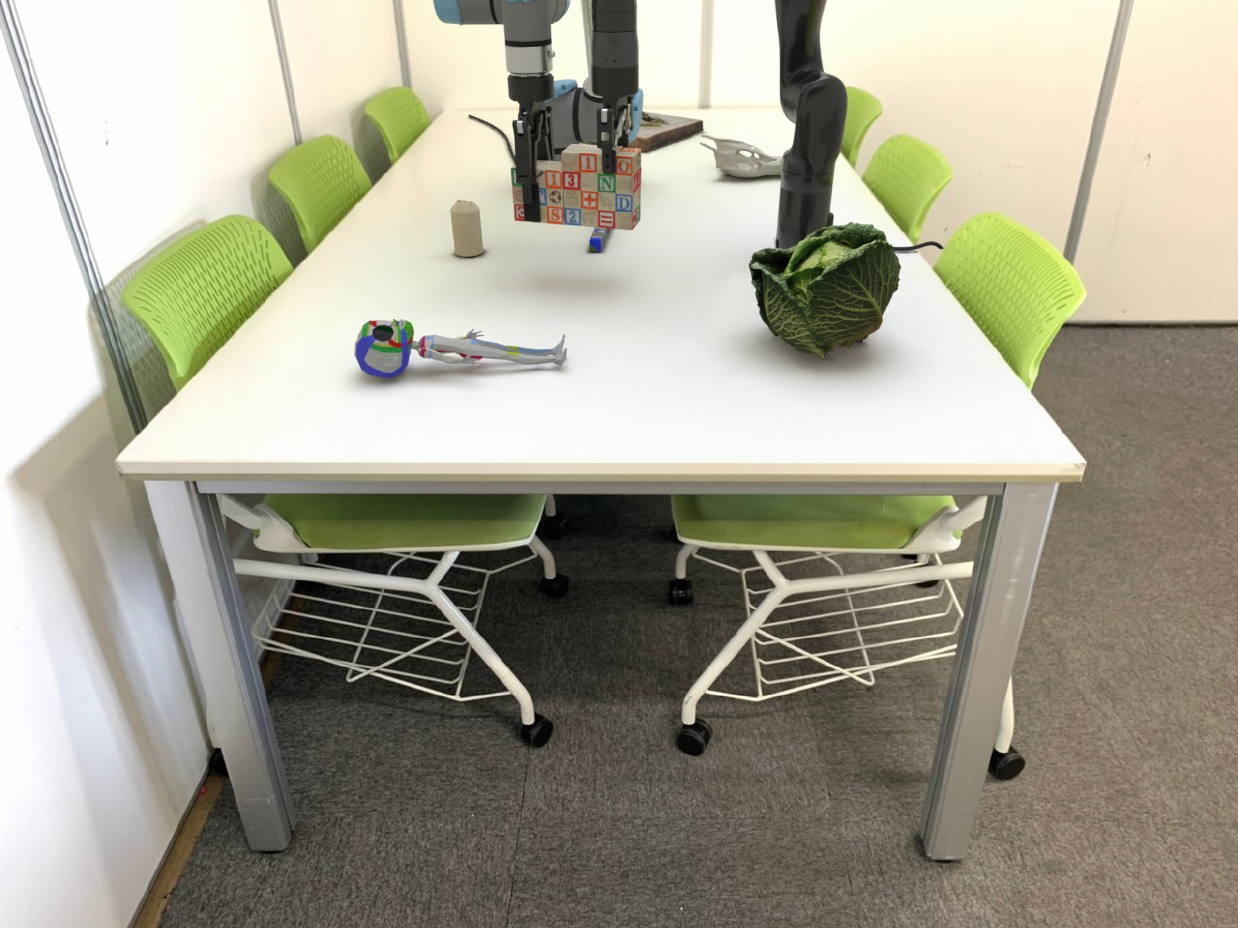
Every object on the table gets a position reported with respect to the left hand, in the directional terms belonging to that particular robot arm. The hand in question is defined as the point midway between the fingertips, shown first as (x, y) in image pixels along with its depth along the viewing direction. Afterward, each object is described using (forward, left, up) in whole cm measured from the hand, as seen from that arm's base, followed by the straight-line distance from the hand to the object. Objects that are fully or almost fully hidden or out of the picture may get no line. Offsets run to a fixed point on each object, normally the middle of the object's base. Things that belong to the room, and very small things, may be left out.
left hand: (539, 215), depth 157 cm
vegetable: (+53, +9, -12) cm, 55 cm away
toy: (+19, -33, -12) cm, 40 cm away
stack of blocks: (+6, +3, -1) cm, 7 cm away
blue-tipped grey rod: (-9, +24, -12) cm, 28 cm away
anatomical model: (-15, +81, -12) cm, 83 cm away
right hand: (+12, +7, +9) cm, 17 cm away
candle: (-21, -1, -12) cm, 24 cm away
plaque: (-66, +94, -12) cm, 116 cm away
